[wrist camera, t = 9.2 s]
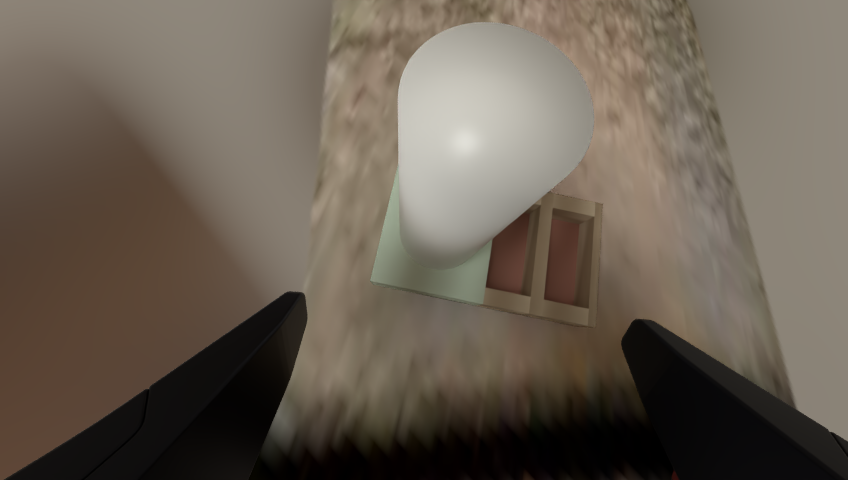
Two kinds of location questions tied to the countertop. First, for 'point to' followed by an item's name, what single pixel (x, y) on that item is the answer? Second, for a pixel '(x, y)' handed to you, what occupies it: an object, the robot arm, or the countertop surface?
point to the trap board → (512, 263)
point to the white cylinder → (483, 136)
